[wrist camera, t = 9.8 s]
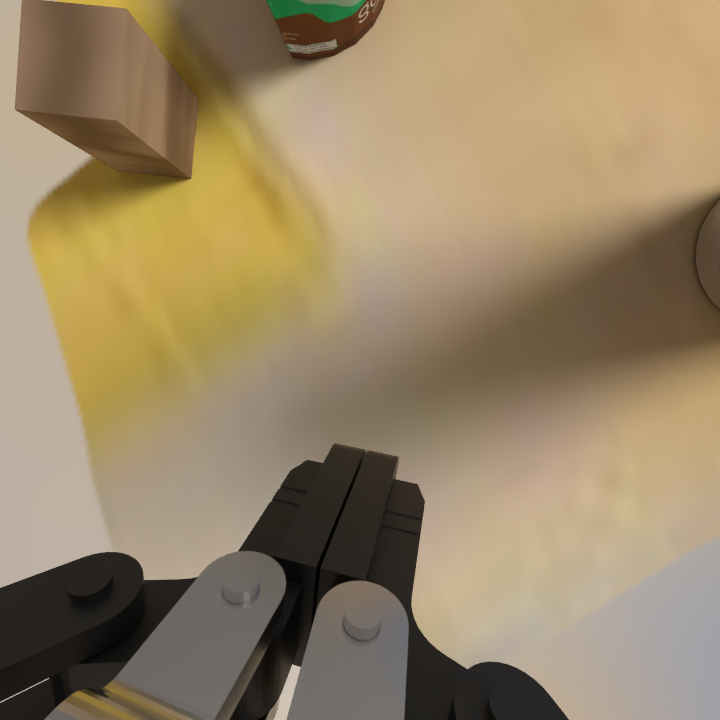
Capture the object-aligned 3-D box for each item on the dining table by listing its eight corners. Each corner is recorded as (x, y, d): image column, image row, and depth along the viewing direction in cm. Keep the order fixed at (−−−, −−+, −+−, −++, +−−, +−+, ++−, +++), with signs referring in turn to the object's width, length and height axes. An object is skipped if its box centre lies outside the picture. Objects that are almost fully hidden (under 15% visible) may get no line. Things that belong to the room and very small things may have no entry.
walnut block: (198, 98, 28) (126, 8, 20) (191, 178, 29) (117, 120, 21) (122, 91, 29) (22, -2, 21) (116, 170, 29) (14, 109, 21)
